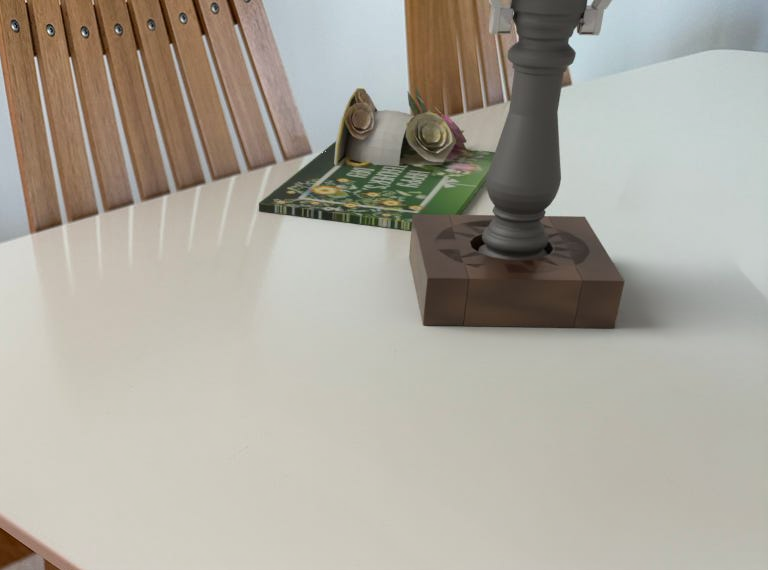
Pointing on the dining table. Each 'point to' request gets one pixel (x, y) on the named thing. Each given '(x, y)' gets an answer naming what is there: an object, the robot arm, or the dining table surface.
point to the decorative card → (385, 169)
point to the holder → (512, 276)
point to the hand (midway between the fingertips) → (542, 33)
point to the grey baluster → (530, 130)
